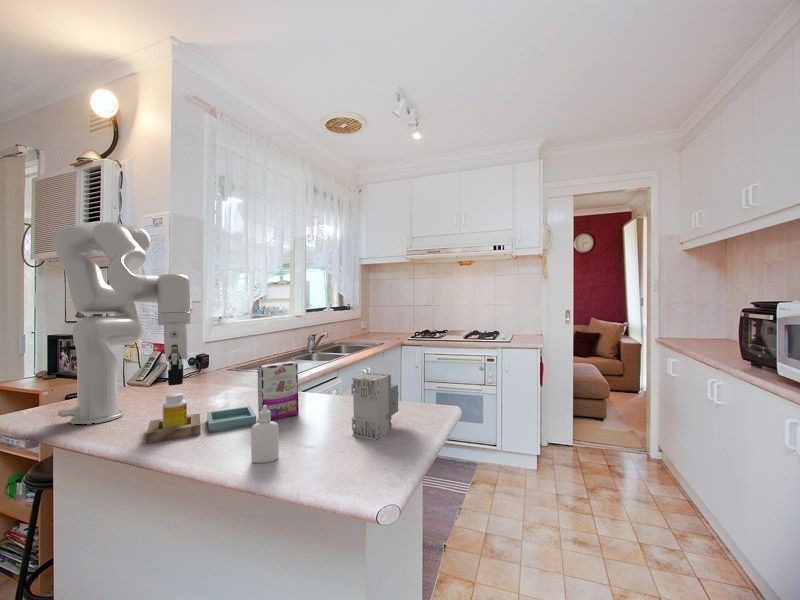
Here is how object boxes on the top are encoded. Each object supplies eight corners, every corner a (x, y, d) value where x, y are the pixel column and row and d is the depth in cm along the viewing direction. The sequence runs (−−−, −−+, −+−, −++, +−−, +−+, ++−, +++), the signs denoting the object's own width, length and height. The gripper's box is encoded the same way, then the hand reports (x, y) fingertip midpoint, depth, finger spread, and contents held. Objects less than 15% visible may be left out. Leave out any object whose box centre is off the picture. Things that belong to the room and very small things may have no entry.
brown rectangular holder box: (145, 443, 90) (145, 433, 90) (150, 429, 100) (150, 420, 100) (200, 434, 96) (200, 424, 96) (199, 421, 106) (199, 413, 106)
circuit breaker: (400, 422, 103) (400, 370, 103) (377, 440, 90) (376, 380, 90) (378, 419, 106) (377, 368, 106) (352, 435, 93) (351, 378, 93)
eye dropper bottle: (260, 454, 82) (259, 402, 82) (282, 456, 81) (281, 403, 81) (247, 462, 78) (247, 407, 78) (270, 465, 77) (270, 409, 77)
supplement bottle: (188, 432, 97) (188, 394, 98) (164, 437, 94) (163, 398, 94) (185, 427, 102) (184, 391, 102) (161, 431, 98) (161, 394, 98)
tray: (209, 432, 97) (209, 423, 97) (207, 420, 107) (207, 412, 107) (256, 424, 103) (256, 416, 103) (250, 413, 113) (250, 406, 113)
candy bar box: (292, 411, 115) (292, 360, 115) (299, 415, 111) (298, 362, 112) (257, 418, 108) (256, 364, 108) (262, 423, 104) (261, 366, 105)
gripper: (190, 318, 93) (192, 385, 92) (190, 318, 107) (191, 375, 107) (155, 320, 89) (157, 389, 88) (160, 319, 104) (161, 378, 103)
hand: (176, 381), depth 98 cm, fingers open, 9 cm apart
